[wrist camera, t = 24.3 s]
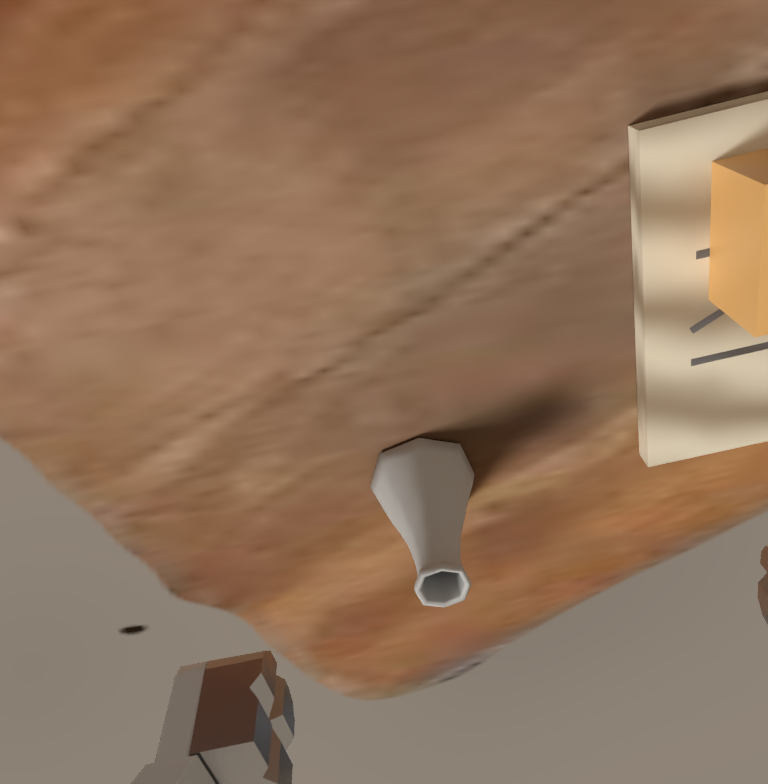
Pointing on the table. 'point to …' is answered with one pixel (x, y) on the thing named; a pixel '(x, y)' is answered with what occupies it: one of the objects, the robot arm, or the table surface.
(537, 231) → the table surface
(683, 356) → the birch board
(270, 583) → the table surface
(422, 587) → the flask
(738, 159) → the block
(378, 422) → the table surface
